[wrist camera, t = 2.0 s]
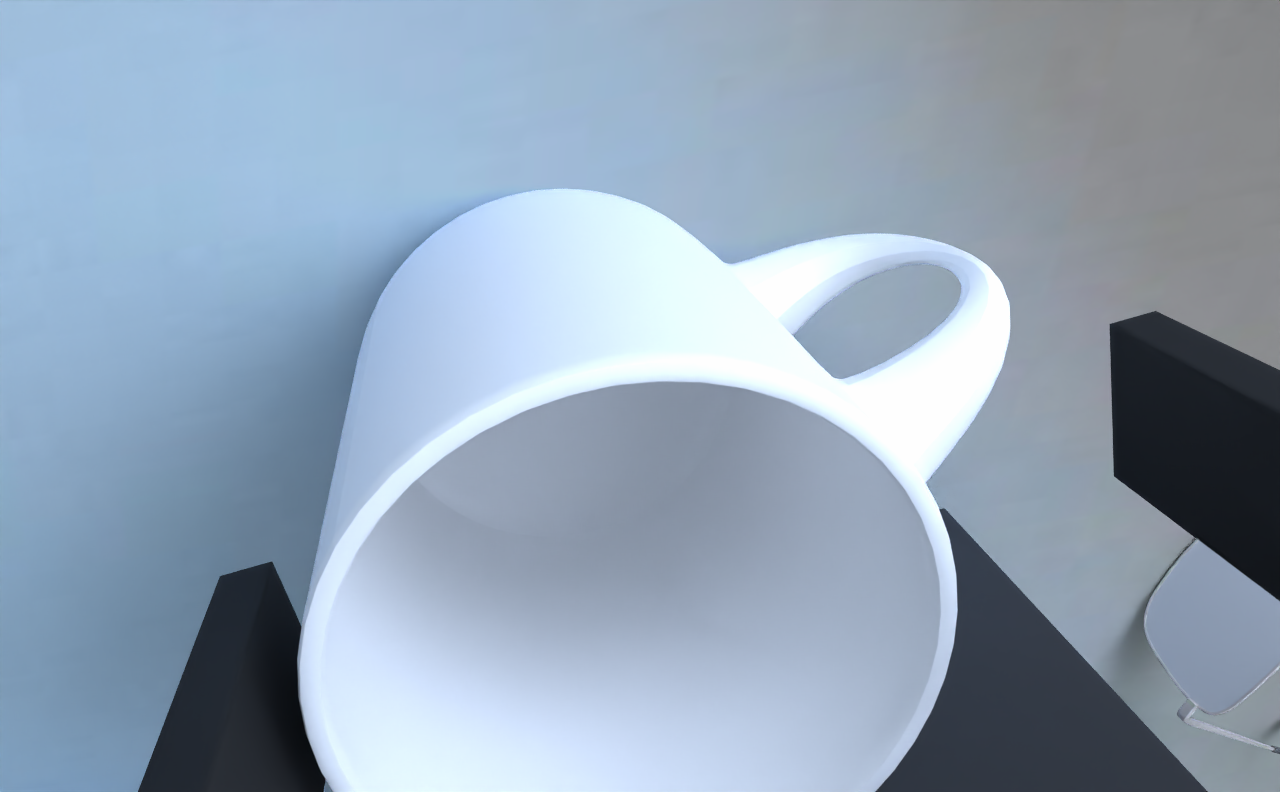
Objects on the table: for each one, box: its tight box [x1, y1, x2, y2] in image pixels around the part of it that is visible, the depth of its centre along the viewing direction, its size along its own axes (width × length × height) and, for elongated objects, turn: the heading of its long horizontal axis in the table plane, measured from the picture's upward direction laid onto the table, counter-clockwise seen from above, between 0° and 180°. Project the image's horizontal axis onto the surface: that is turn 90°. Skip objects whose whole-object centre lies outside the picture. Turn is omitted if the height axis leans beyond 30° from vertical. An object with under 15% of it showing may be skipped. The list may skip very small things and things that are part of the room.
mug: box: [297, 189, 1010, 792], centre depth 18 cm, size 9×12×11 cm
